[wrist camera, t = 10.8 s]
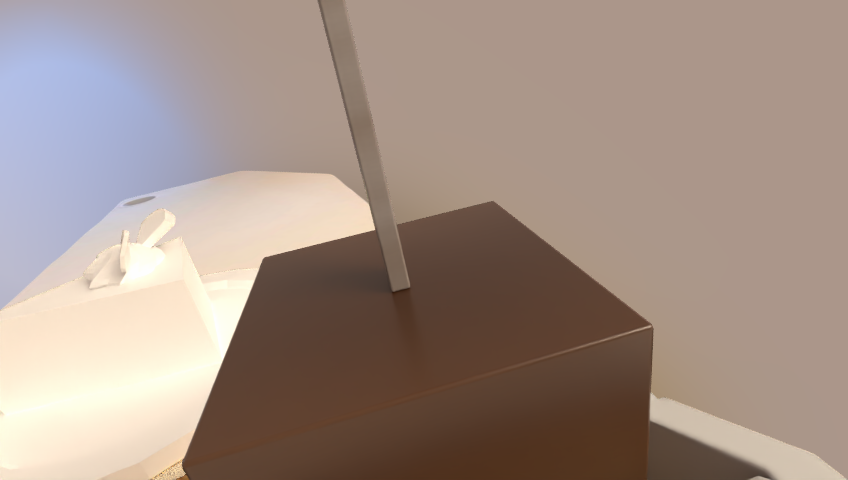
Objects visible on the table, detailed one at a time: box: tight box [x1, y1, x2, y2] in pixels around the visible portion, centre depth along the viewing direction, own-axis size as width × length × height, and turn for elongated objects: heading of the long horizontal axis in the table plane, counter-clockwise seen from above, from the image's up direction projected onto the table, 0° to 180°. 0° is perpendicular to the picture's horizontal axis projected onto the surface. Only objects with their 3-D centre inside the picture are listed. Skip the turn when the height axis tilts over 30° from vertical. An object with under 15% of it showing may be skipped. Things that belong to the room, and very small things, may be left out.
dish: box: [0, 208, 259, 480], centre depth 30 cm, size 25×25×11 cm
